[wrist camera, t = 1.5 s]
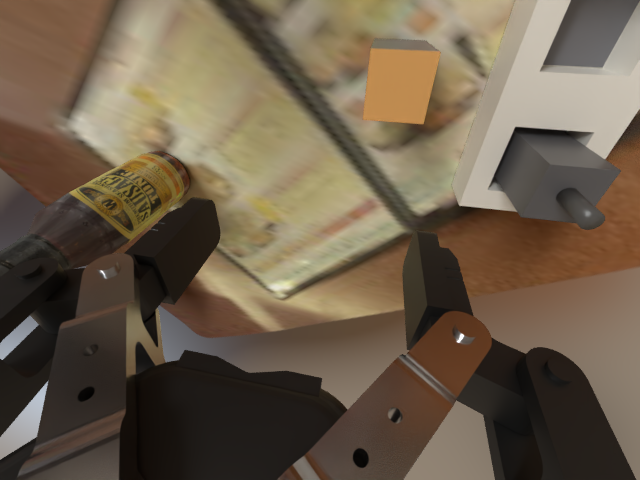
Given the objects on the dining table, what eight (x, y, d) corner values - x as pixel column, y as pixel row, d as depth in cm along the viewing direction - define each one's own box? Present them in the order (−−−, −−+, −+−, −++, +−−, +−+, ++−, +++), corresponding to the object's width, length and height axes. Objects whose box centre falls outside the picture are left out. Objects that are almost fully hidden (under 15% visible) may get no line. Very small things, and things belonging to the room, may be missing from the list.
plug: (374, 38, 23) (370, 49, 17) (425, 40, 23) (440, 52, 16) (368, 93, 26) (362, 119, 19) (414, 96, 25) (423, 124, 19)
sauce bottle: (202, 178, 34) (56, 313, 19) (176, 203, 38) (33, 336, 22) (155, 134, 32) (-57, 249, 17) (131, 165, 35) (-65, 285, 20)
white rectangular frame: (540, -72, 18) (703, -157, 9) (704, -73, 17) (1091, -173, 8) (451, 184, 29) (481, 266, 20) (546, 194, 28) (624, 284, 19)
